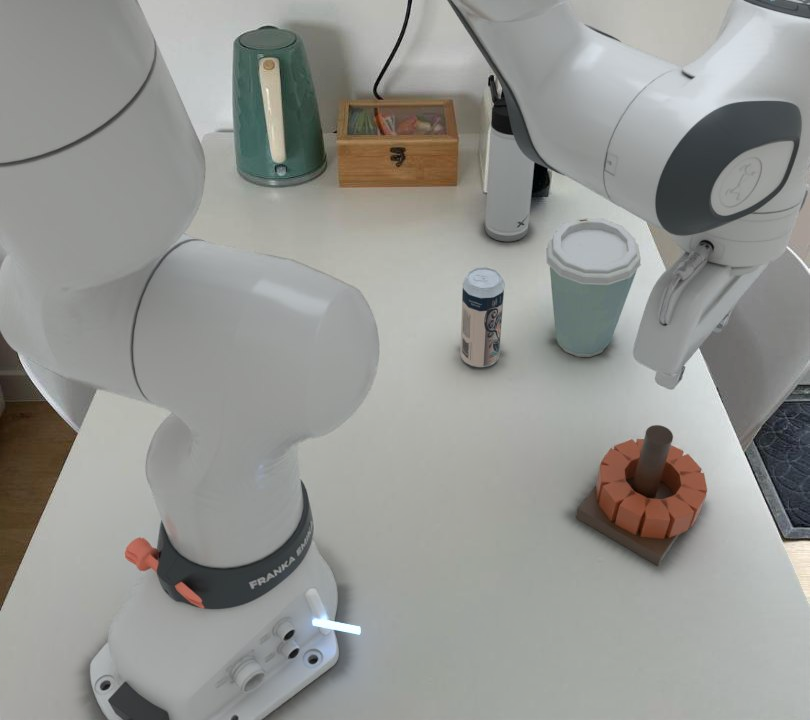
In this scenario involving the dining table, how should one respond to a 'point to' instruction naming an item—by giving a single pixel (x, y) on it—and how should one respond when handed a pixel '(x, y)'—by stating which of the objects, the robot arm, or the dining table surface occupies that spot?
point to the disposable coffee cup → (590, 282)
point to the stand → (644, 484)
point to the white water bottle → (507, 180)
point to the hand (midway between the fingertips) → (691, 353)
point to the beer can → (481, 317)
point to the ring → (650, 512)
